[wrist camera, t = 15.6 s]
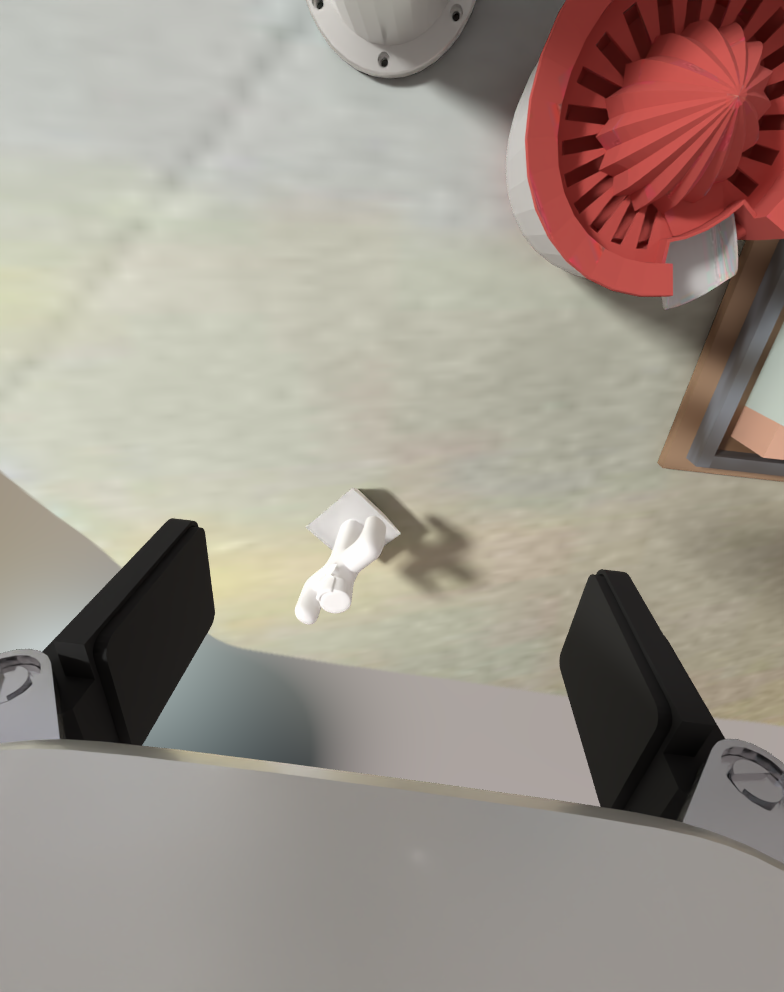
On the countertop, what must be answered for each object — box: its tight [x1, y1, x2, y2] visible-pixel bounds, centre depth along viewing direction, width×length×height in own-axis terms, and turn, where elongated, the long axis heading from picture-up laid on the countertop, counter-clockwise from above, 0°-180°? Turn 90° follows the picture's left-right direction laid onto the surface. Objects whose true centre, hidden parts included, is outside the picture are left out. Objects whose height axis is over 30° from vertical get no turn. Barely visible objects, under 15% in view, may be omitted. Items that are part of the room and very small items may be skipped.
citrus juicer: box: [506, 0, 784, 310], centre depth 28 cm, size 16×17×20 cm
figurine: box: [295, 488, 401, 624], centre depth 47 cm, size 7×9×15 cm
